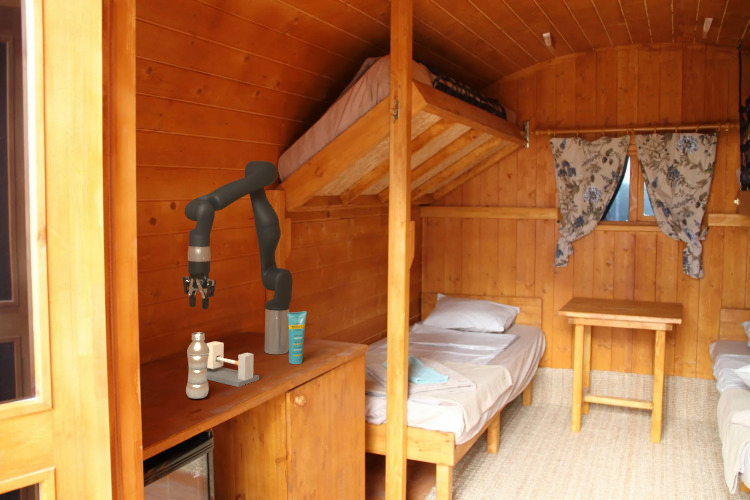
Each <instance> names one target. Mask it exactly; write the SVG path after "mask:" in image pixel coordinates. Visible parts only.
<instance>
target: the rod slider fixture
mask: <svg viewBox="0 0 750 500" xmlns="http://www.w3.org/2000/svg"><path fill="white" fill-rule="evenodd" d="M237 356H238V357H237V358H238V360H234V359H230V358H229V359H228V358H224V357H223V358H221V357H216V360H218V361H222V362H223V363H226V364H227V363H228V364H232V365H235V366H237V368H238V369H237V370H236V369H232V368H229V367H228V368H227V367H224V366H221V367H218V368H214V369H211V368H207V381H208V380H209V381H212V382H216V383H217V382H218V383H220V384H225V385H230V386H233V387H237V388H241V387H243V386H246V385H248V383H249V384H252V383H254V381H255V382H258V381H259V380H260V375H257V374H254V353H250V352H244V353H241V354H238V355H237ZM257 380H258V381H257ZM251 382H252V383H251ZM245 384H246V385H245Z"/></svg>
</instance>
